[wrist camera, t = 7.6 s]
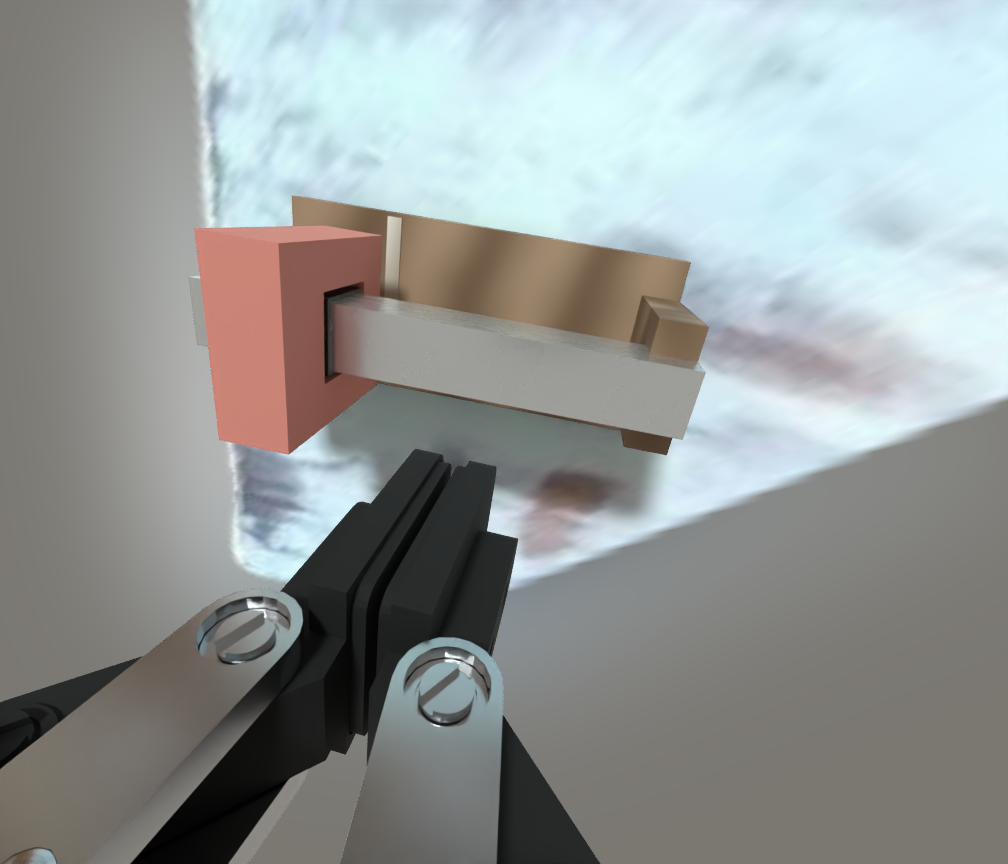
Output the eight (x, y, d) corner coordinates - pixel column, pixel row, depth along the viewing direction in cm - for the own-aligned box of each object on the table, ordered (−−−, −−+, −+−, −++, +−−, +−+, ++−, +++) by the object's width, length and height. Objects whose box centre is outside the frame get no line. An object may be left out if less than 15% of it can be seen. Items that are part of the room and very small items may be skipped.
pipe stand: (686, 260, 26) (725, 276, 19) (637, 426, 30) (654, 491, 23) (303, 196, 28) (204, 188, 20) (307, 362, 32) (226, 403, 25)
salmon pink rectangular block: (381, 235, 24) (278, 243, 16) (376, 384, 27) (288, 454, 19) (325, 225, 24) (194, 228, 16) (326, 375, 28) (219, 439, 19)
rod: (690, 347, 22) (708, 369, 19) (668, 415, 23) (681, 446, 20) (236, 265, 23) (184, 272, 20) (242, 333, 25) (194, 349, 22)
